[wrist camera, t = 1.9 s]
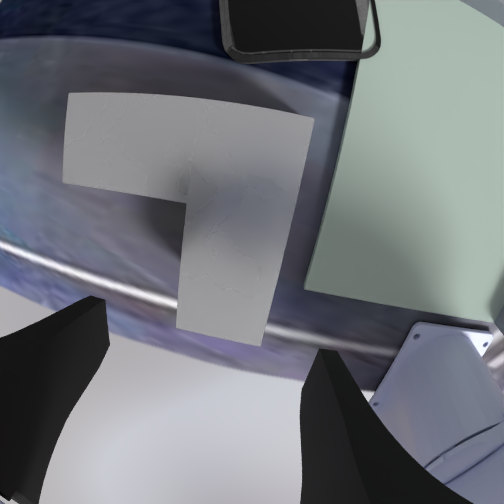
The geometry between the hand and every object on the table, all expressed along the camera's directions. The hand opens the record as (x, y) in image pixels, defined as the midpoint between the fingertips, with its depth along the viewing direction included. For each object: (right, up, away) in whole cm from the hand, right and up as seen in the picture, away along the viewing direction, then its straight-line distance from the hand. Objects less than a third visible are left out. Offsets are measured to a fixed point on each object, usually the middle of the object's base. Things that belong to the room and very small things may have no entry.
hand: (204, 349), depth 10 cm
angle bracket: (-2, +6, +7) cm, 10 cm away
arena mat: (+14, +9, +4) cm, 17 cm away
